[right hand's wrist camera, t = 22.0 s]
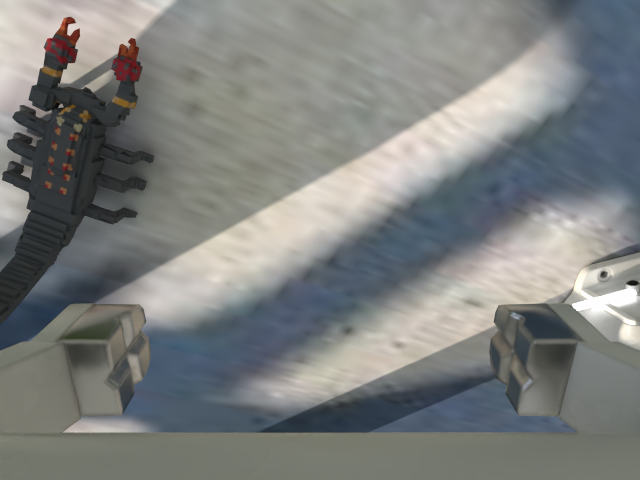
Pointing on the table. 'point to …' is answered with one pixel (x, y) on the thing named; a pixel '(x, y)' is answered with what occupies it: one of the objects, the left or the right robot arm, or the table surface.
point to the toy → (65, 162)
